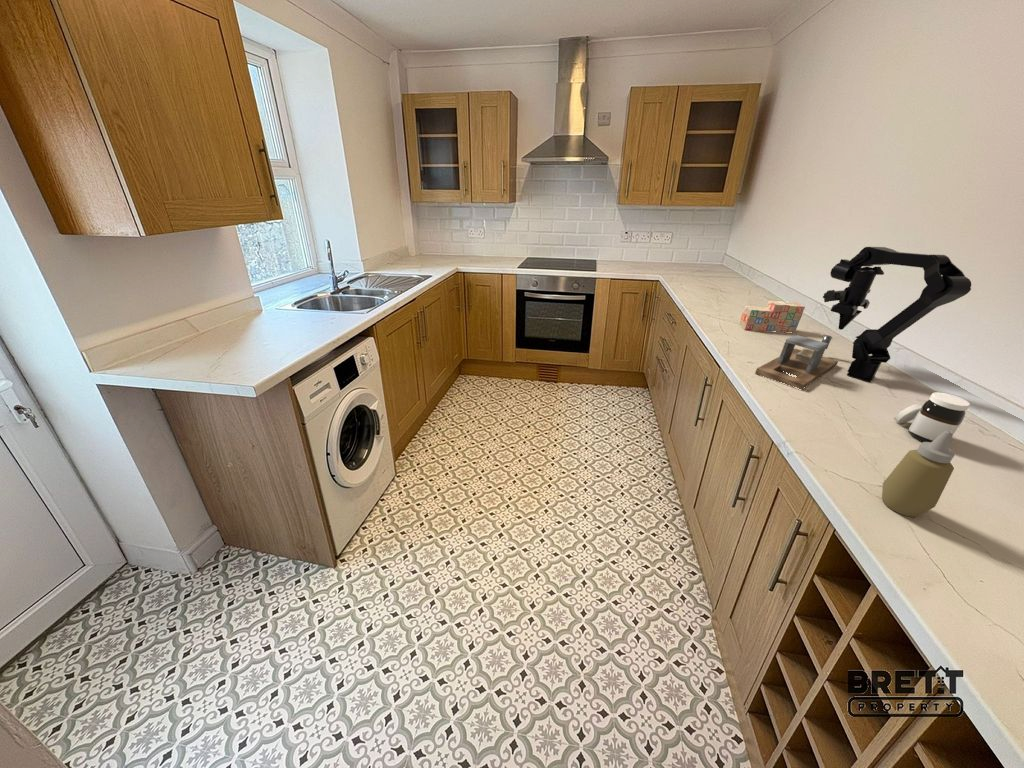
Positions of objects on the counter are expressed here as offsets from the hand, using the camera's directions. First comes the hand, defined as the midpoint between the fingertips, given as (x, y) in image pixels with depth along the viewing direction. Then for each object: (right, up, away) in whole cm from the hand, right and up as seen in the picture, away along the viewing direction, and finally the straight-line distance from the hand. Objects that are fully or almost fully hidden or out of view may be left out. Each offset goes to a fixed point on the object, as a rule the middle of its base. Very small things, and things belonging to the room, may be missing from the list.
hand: (840, 329), depth 143 cm
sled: (-7, -9, +3) cm, 12 cm away
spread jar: (-10, -33, -37) cm, 50 cm away
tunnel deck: (-18, -15, -4) cm, 24 cm away
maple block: (-12, -11, 0) cm, 16 cm away
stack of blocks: (-5, +4, +34) cm, 35 cm away
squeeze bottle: (-39, -44, -62) cm, 86 cm away
